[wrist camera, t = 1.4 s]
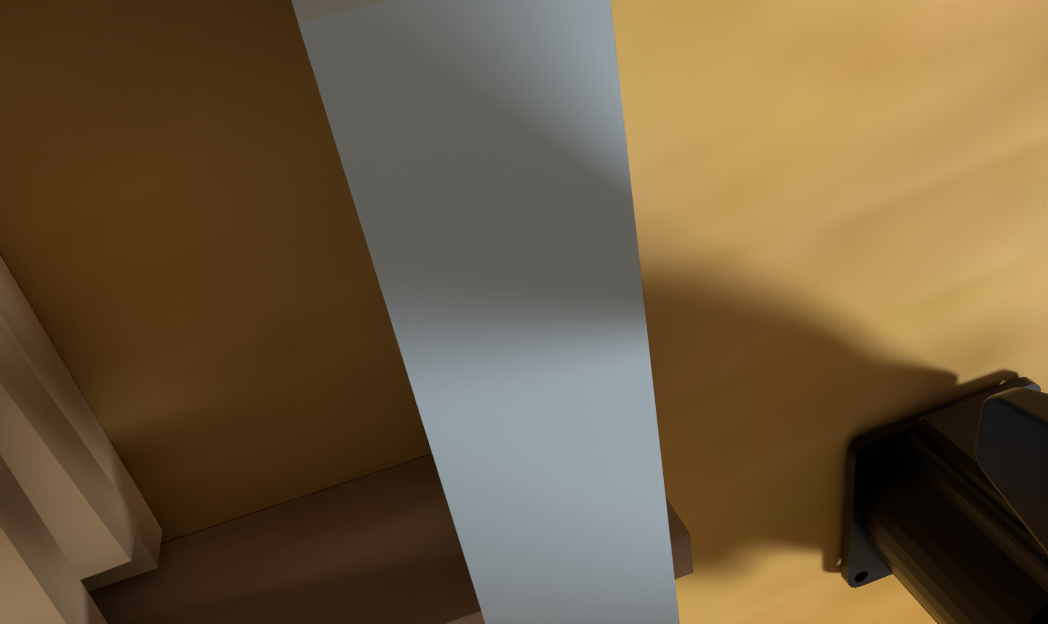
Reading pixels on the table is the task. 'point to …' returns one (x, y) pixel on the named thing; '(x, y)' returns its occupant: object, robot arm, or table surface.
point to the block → (511, 286)
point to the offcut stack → (58, 485)
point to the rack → (325, 562)
